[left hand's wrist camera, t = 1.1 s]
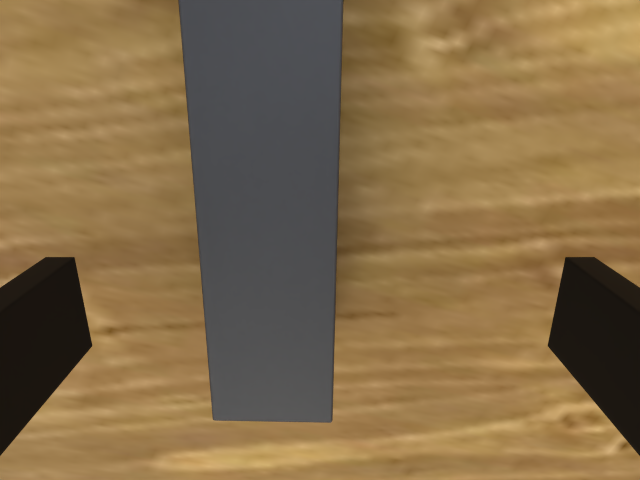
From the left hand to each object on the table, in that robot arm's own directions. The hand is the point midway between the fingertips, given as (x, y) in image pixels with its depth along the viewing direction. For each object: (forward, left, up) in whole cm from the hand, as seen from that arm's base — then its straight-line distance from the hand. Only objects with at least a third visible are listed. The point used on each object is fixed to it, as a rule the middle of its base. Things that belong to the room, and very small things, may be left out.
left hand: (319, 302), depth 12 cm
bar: (+23, -8, -14) cm, 28 cm away
